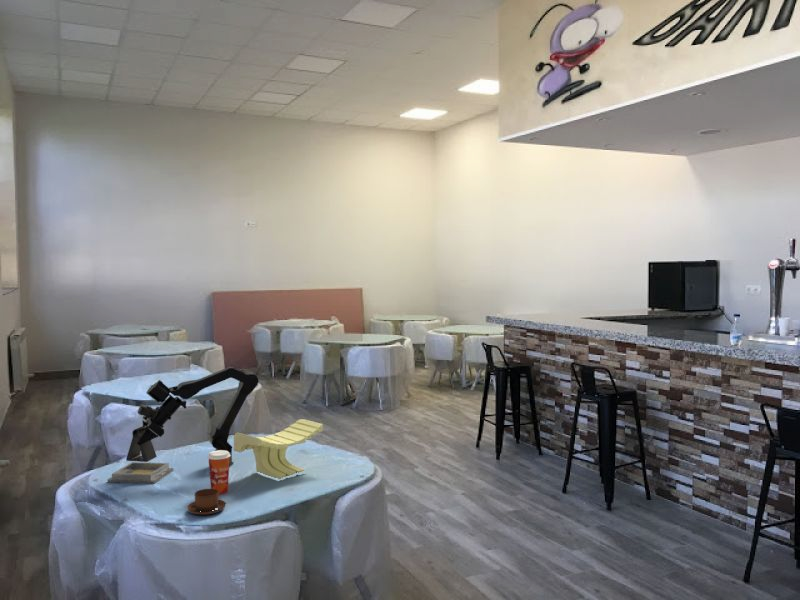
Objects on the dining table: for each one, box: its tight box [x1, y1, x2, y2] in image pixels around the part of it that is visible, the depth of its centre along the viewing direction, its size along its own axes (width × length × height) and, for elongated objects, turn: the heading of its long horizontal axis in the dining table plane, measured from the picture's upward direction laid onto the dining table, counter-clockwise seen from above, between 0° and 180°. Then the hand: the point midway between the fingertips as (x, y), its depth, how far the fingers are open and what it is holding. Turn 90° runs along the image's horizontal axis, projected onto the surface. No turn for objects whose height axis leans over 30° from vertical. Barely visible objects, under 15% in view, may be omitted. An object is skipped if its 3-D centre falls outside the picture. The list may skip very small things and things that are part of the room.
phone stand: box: [125, 425, 157, 463], centre depth 253 cm, size 9×6×12 cm, turn 78°
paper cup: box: [207, 450, 231, 496], centre depth 236 cm, size 8×8×14 cm
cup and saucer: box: [186, 488, 227, 516], centre depth 218 cm, size 12×12×6 cm
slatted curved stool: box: [233, 418, 324, 479], centre depth 257 cm, size 30×16×18 cm, turn 136°
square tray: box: [106, 461, 174, 485], centre depth 253 cm, size 18×16×3 cm
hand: (137, 442), depth 252 cm, fingers closed on phone stand, 6 cm apart
